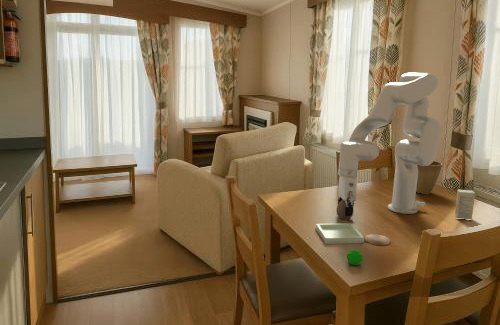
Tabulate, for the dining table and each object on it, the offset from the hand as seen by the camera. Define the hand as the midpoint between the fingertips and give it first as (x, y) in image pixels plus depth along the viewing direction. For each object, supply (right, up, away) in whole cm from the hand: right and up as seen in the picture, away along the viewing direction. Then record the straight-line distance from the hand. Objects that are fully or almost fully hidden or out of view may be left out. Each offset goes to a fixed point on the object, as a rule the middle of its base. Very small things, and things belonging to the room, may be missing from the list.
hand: (344, 211), depth 172 cm
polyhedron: (-6, -12, -40) cm, 42 cm away
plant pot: (+49, +5, +41) cm, 64 cm away
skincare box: (+51, -3, +4) cm, 51 cm away
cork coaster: (+7, -8, -21) cm, 24 cm away
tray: (-6, -7, -18) cm, 20 cm away
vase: (0, -3, +1) cm, 3 cm away
